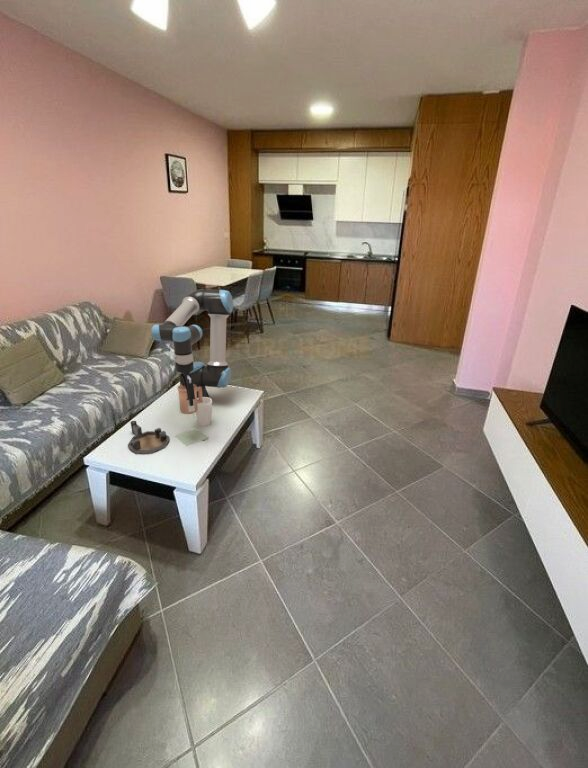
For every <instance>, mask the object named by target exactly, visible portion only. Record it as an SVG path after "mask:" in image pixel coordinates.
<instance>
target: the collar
mask: <svg viewBox="0 0 588 768" xmlns="http://www.w3.org/2000/svg"><path fill="white" fill-rule="evenodd" d="M137 423H138V422H137V420H132V421H130V428H131V433H132V434H134V436H132V438H131V439H130V441H129V442H128V444H127V448H128V449H129V448H130V449H131V450H132V451H133V452H134V453H133V454H135V453H152V454H154V453H153V452H155V451H158V450H160V449H162V448H164V447H165V448H167V446H168V445H167V443H168V441H169V442H170V435H167V433H166V431H165V430H163V431H162V428H160V427H158V428H155V429H154V430H152V431H151V430H147V431H144V432H143V431H142V426H140V425H139V424H137ZM148 434H155V437H156V438H158V437H160V441H164V440H165V442H164V444H163V445H161V446H158V447H156V448H154V449H151V450H137V449H139V448H141V445H140V440H138V439H137V438H140V437H142V436H145V435H148ZM131 445H132V446H131ZM166 445H167V446H166ZM165 448H164V449H165ZM162 450H163V449H162ZM158 452H159V451H158Z"/></svg>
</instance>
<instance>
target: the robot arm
mask: <svg viewBox="0 0 588 768" xmlns="http://www.w3.org/2000/svg"><path fill="white" fill-rule="evenodd" d="M233 301H234V300H233V296H232V294H231V292H230V291H229V290H225V289H211V288H210V289H207V288H201V289H199V288H198V289H197V290H194V291H192V292H190V293H189V294H187V295H186V296H185V297H184V298H182V301H181V304H180V305H179V306H178V307H177V308H176V309H175V310H174V311H173V312H172V313H171V315H169V316H168V318H167V319H166V320H164V322H163V323H162V324H160V323H159V324H154V325H153V326H152V327H151V329H150V331H151V337H152V339H153V340H154V341H158V342H168V343H169V342H170V343H173V350H174V355H175V356H173V359H175V369H176V372H177V373H179V385H181V384H182V385H185V386H186V390H187V396H188V399H186V400H187V401H188V411H189V412H192V411H195V408H194V399H195V394H194V387H193V384H195V385H196V386H197V387H202V397H208V398H210V394H209V392H208V390H207V387H209V388H210V387H211V388H218V389H220V388H222V389H223V388H227V387H228V386H229V384H230V381H231V378H232V369H231V368H230V367H229V363H228V362H227V361H226V353H227V352H226V351H227V349H226V348H227V346H226V345H227V319H228V318H229V316H230V313H232V312H233V310H234V302H233ZM200 311H202V312H204V311H205V312H207V315H208V316H209V318H210V334H209V335H210V337H209V339H210V340H209V341H210V342H209V344H210V345H209V347H210V348H209V361H208V362H207V363H206V365H205V363H204V362H202V361H194V356H193V348H192V347H193V345H194V344H196V343H197V342H198V341H200V340H201V339H202V337H203V329H202V328H201V327H200V326H199V325H197V324H190V325H189V326H186V325H185V324H186V323H187V322H188V321H189V319H190V318H191V317H192V316H193V315H194V314H196V313H198V312H200ZM193 361H194V362H193ZM197 398H199V396H198V391H197Z"/></svg>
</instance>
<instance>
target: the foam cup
mask: <svg viewBox="0 0 588 768" xmlns="http://www.w3.org/2000/svg"><path fill="white" fill-rule="evenodd" d="M197 400H199V398H197ZM197 406H198V410H197V412H195V417H196V419H197V423H198V425H199V426H201V427H207V426H209V425H210V424H211V423H212V422H211V420H212V409H213V399H212V398H211V397H209V398H208V397H203V402H202V403H198V404H197Z"/></svg>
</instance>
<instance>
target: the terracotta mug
mask: <svg viewBox="0 0 588 768" xmlns="http://www.w3.org/2000/svg"><path fill="white" fill-rule="evenodd" d="M193 387H194V394H195V399H194V408H195V411H192V412H189V411H188V401H187V400H186V399H188V396H187V390H186V386H185V385H182V384H181V385H180V384H179V385H177V391H178V401H179V412H180V413H181V414H183V415H192V414H196V412H197V410H198V406H197V404H198V403H202V402H203V397H202V387H197V386H196V385H195V384H193ZM197 391H198V396H199V400H197Z"/></svg>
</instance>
